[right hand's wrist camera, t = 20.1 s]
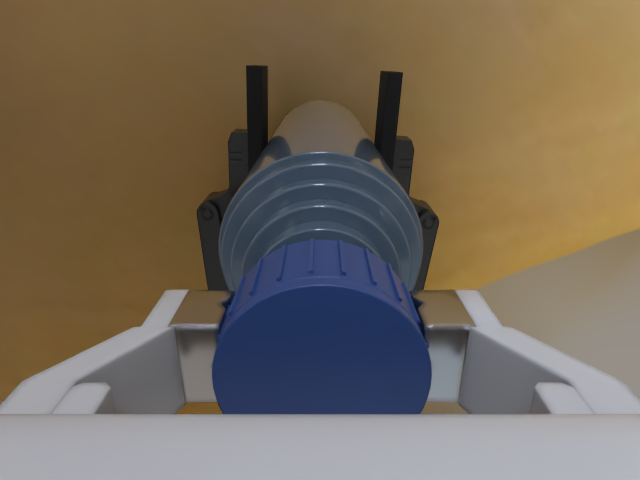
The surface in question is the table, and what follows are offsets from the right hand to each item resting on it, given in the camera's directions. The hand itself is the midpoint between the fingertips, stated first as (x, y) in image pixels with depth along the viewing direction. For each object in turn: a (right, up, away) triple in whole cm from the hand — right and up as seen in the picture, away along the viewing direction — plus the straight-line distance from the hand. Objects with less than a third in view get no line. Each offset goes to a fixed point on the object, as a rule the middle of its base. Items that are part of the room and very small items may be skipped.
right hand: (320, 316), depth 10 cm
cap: (0, -1, -2) cm, 2 cm away
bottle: (0, +8, +20) cm, 22 cm away
